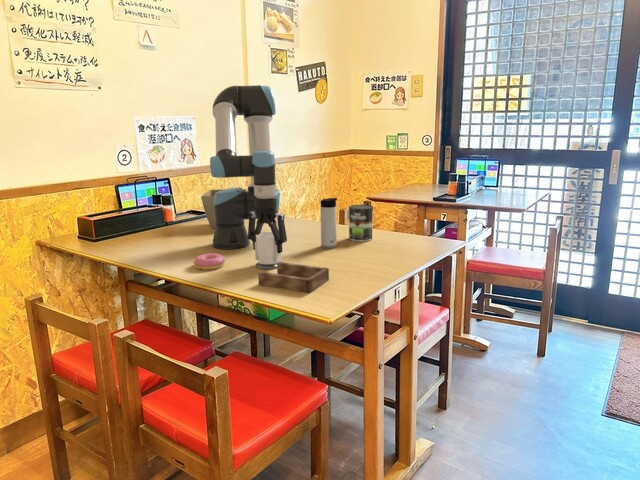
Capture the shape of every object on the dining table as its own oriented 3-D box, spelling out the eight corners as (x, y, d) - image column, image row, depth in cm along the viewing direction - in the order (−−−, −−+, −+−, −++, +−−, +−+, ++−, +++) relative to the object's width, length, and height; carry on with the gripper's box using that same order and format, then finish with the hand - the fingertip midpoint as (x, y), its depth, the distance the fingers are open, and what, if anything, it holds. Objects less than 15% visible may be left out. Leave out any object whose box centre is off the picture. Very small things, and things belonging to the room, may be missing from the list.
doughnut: (195, 273, 170) (194, 261, 169) (193, 264, 180) (192, 253, 179) (226, 269, 173) (226, 258, 172) (223, 261, 183) (223, 250, 182)
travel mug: (336, 249, 196) (335, 199, 191) (319, 248, 197) (318, 199, 192) (338, 245, 202) (338, 196, 197) (322, 244, 203) (322, 196, 198)
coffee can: (369, 242, 205) (369, 209, 201) (345, 240, 209) (345, 208, 205) (375, 237, 214) (376, 205, 210) (353, 235, 218) (353, 203, 214)
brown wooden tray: (258, 284, 156) (258, 272, 155) (279, 273, 167) (279, 261, 166) (310, 293, 148) (310, 280, 147) (328, 280, 159) (328, 268, 158)
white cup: (257, 259, 179) (256, 232, 176) (279, 258, 179) (278, 231, 177) (256, 265, 171) (255, 237, 169) (279, 264, 172) (278, 236, 169)
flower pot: (243, 230, 230) (241, 195, 226) (203, 231, 230) (200, 195, 226) (249, 222, 248) (247, 188, 244) (212, 222, 249) (209, 189, 245)
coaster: (250, 267, 174) (250, 266, 174) (264, 261, 182) (264, 259, 181) (272, 270, 170) (272, 269, 170) (285, 263, 178) (285, 262, 177)
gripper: (234, 196, 171) (238, 259, 176) (285, 200, 162) (287, 266, 168) (246, 193, 177) (250, 254, 183) (296, 196, 168) (298, 260, 174)
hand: (268, 260), depth 175 cm, fingers closed on white cup, 7 cm apart
